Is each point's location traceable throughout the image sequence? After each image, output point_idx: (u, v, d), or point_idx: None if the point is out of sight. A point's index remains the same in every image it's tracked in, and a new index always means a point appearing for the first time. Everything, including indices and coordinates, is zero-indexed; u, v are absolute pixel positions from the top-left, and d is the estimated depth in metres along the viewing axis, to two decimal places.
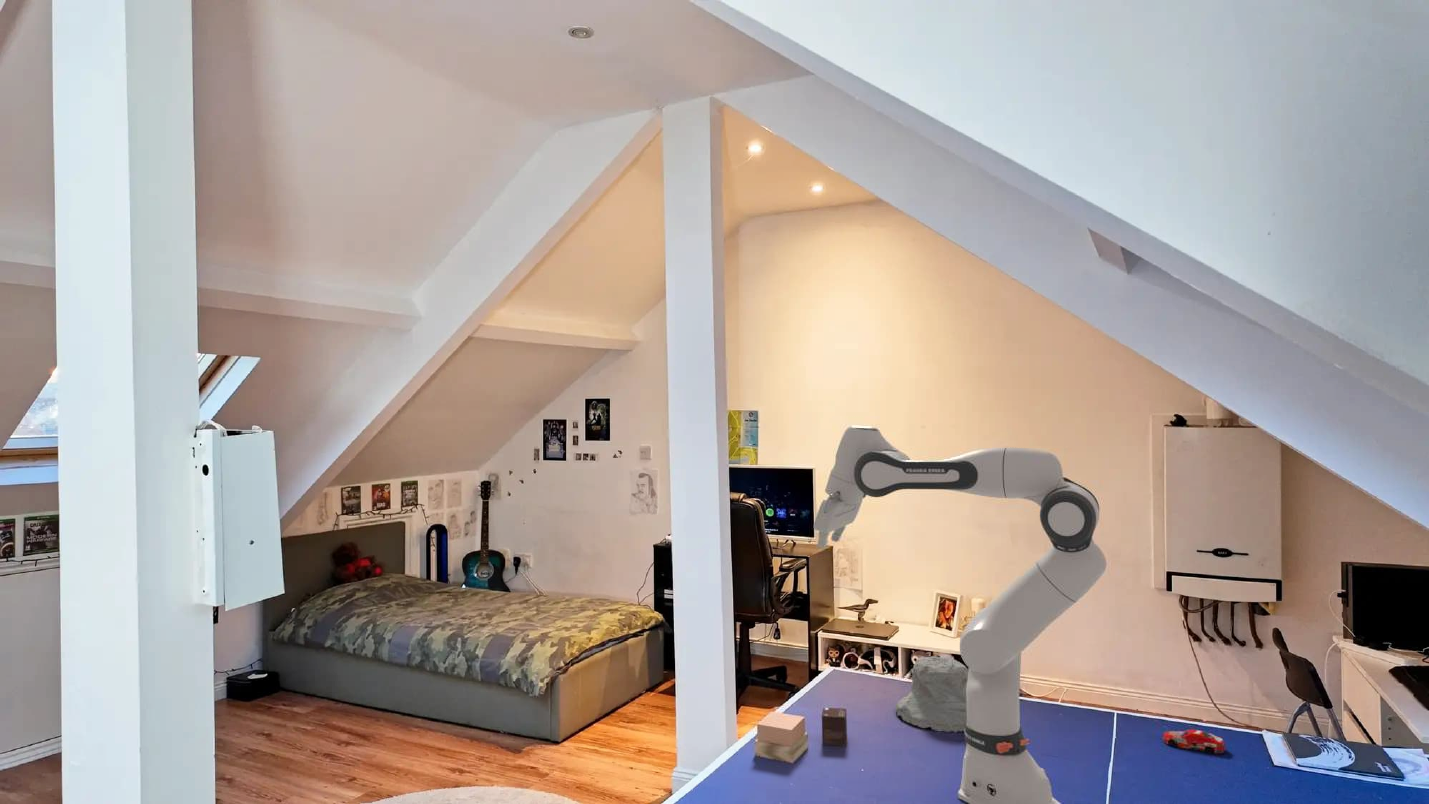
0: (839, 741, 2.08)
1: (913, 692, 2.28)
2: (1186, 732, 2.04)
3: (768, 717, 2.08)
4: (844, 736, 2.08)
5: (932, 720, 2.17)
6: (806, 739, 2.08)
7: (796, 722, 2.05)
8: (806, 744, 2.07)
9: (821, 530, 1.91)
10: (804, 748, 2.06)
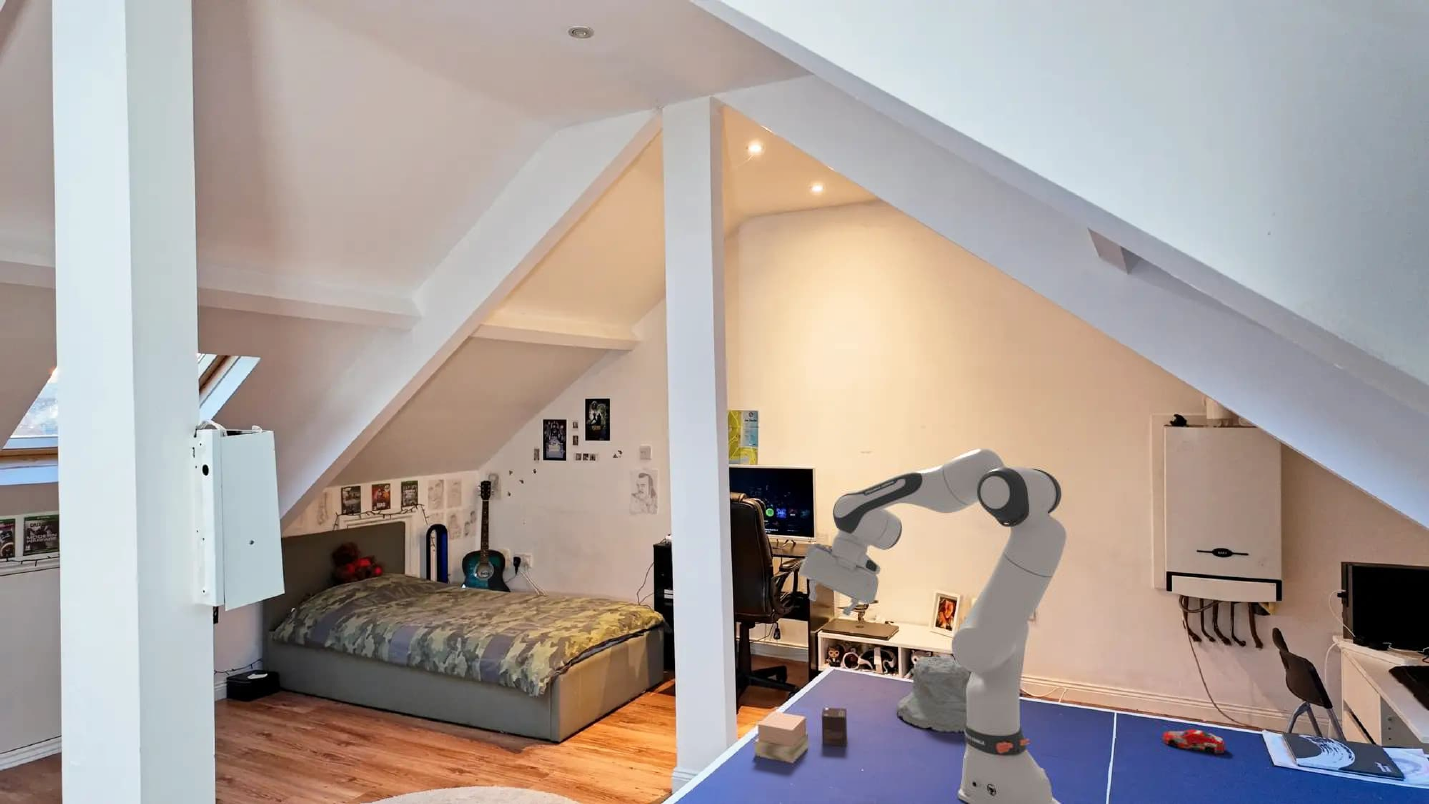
0: (839, 741, 2.08)
1: (914, 692, 2.28)
2: (1186, 732, 2.04)
3: (769, 717, 2.08)
4: (844, 736, 2.08)
5: (933, 720, 2.17)
6: (807, 739, 2.07)
7: (797, 722, 2.05)
8: (806, 744, 2.07)
9: (801, 572, 2.10)
10: (804, 748, 2.06)
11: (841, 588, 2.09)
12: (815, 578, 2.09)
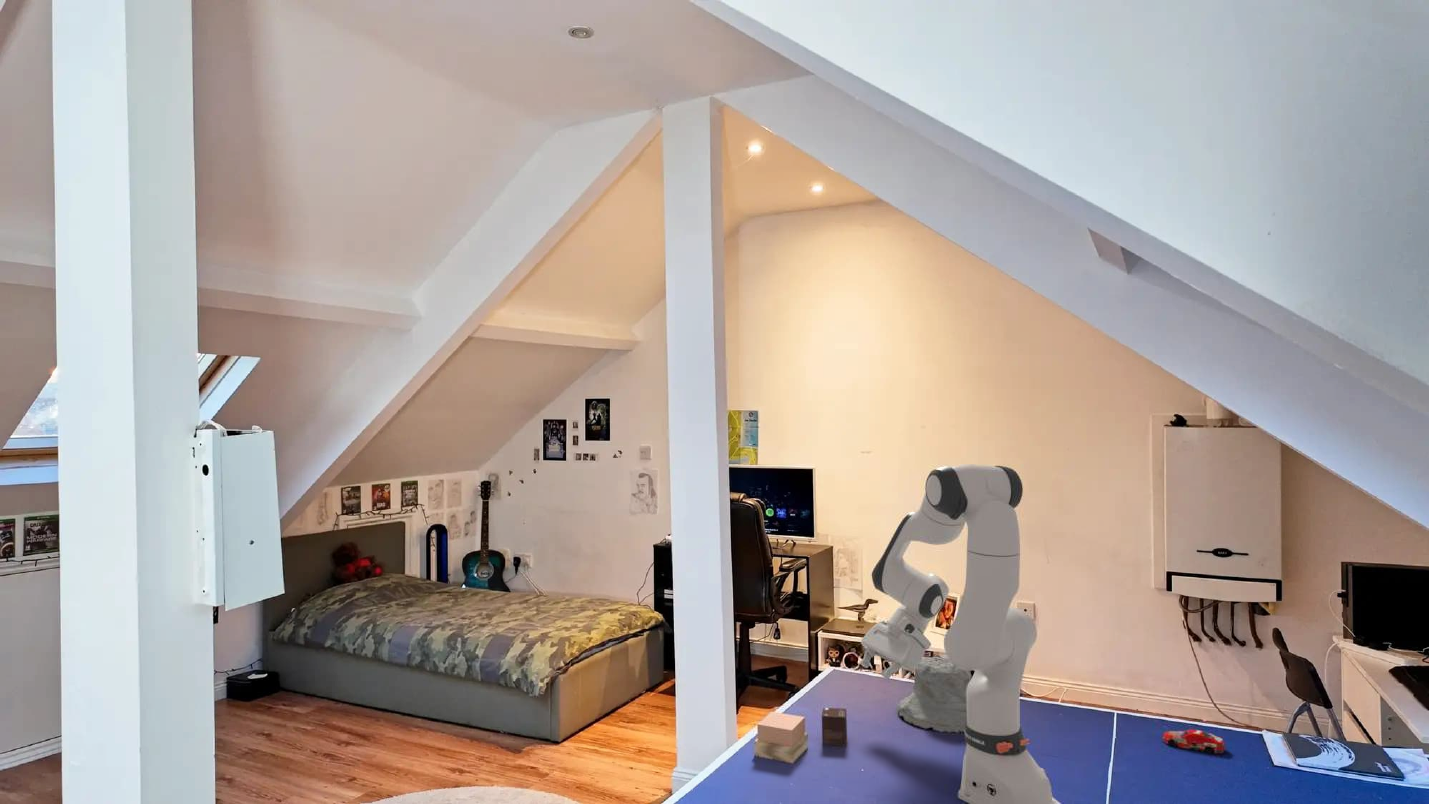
0: (839, 741, 2.08)
1: (915, 692, 2.27)
2: (1186, 732, 2.04)
3: (768, 717, 2.08)
4: (844, 736, 2.08)
5: (934, 720, 2.17)
6: (806, 739, 2.07)
7: (796, 722, 2.05)
8: (806, 744, 2.07)
9: None
10: (804, 748, 2.06)
11: (883, 651, 2.16)
12: (867, 645, 2.23)
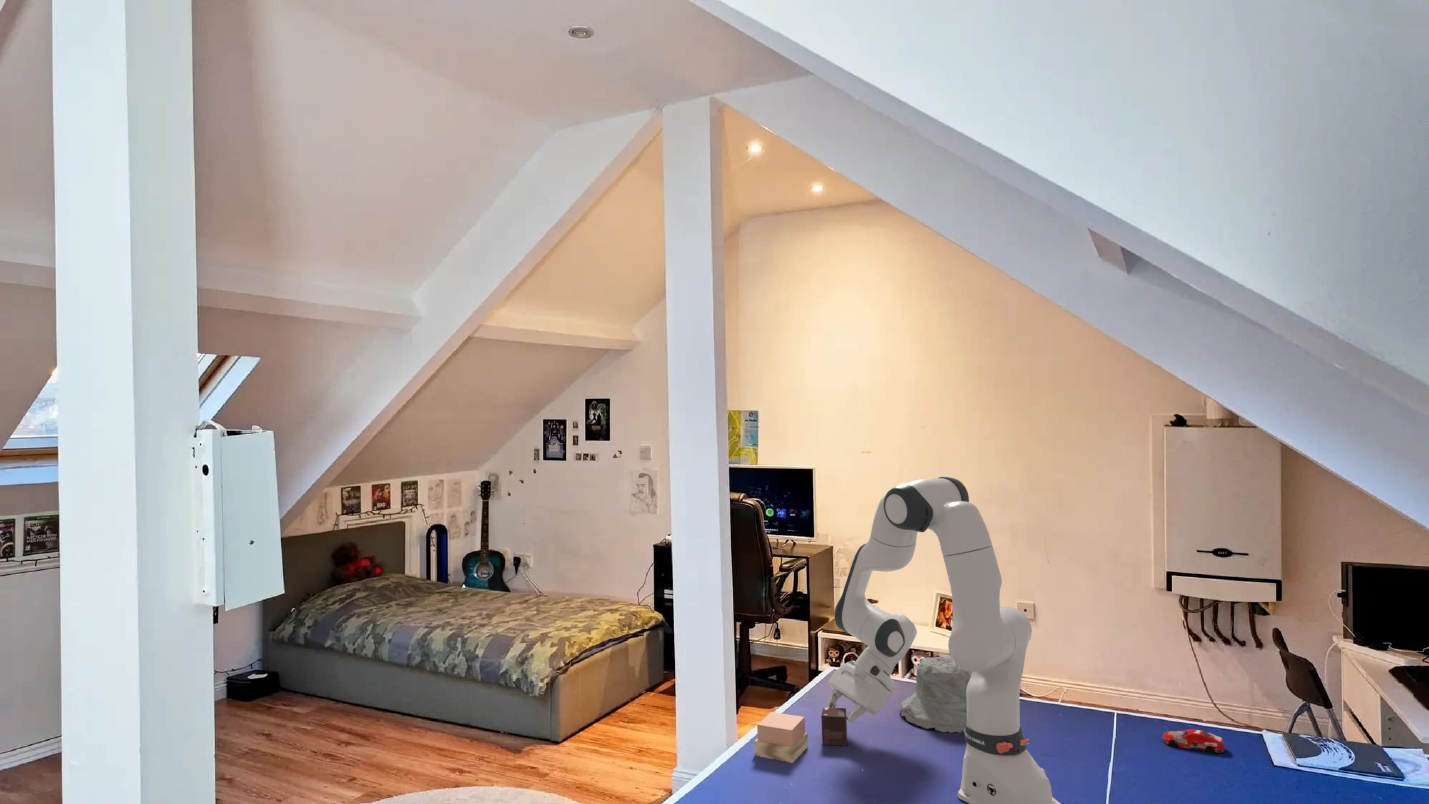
0: (839, 741, 2.08)
1: (917, 692, 2.27)
2: (1186, 732, 2.04)
3: (768, 717, 2.08)
4: (844, 736, 2.08)
5: (936, 721, 2.17)
6: (806, 739, 2.08)
7: (796, 722, 2.05)
8: (806, 744, 2.07)
9: None
10: (804, 748, 2.06)
11: (848, 693, 2.12)
12: (834, 686, 2.19)
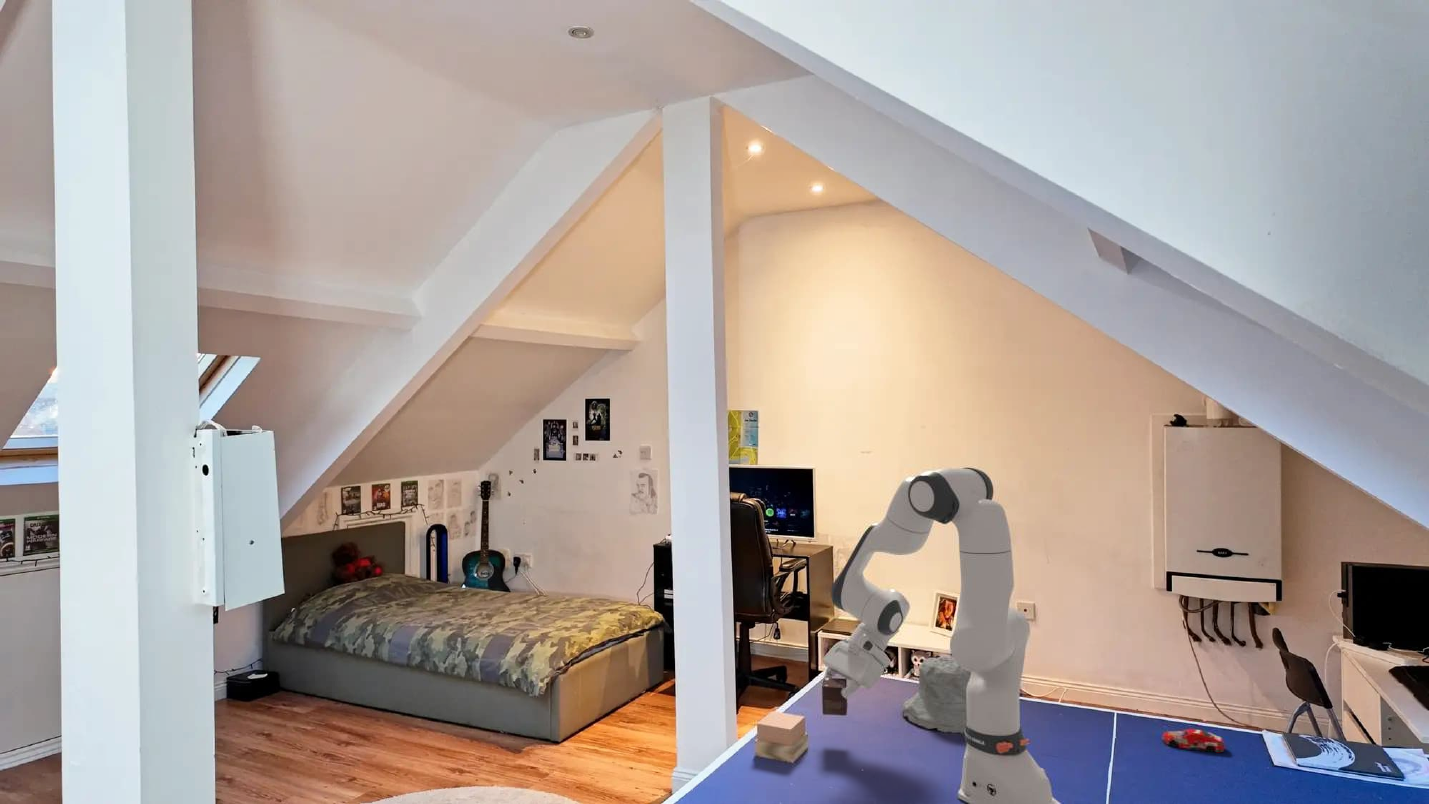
0: (839, 711, 2.08)
1: (920, 693, 2.27)
2: (1186, 732, 2.04)
3: (769, 716, 2.09)
4: (844, 706, 2.08)
5: (938, 721, 2.17)
6: (807, 739, 2.08)
7: (796, 721, 2.05)
8: (806, 744, 2.07)
9: None
10: (804, 748, 2.06)
11: (842, 670, 2.11)
12: (828, 664, 2.18)
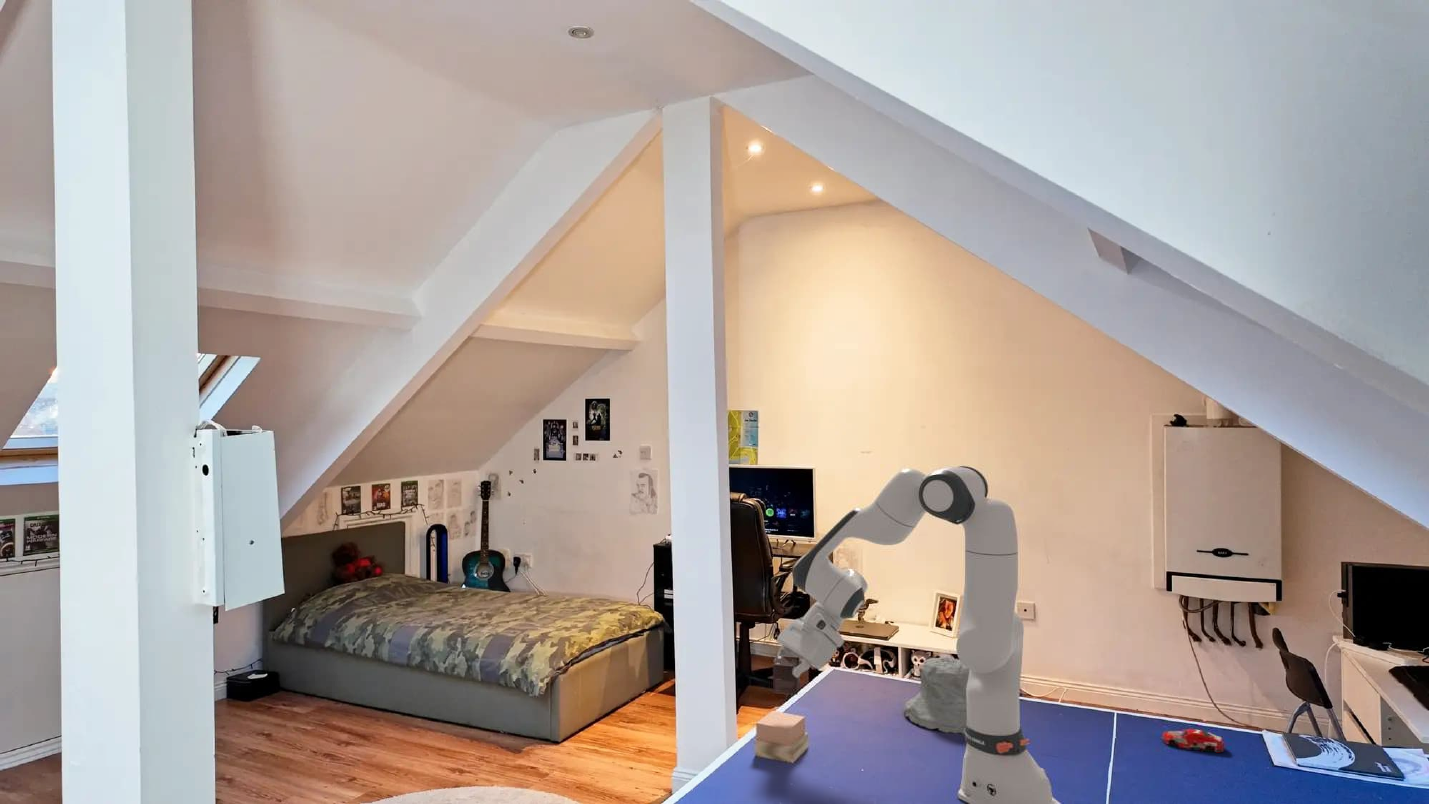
0: (790, 690, 2.04)
1: (921, 693, 2.27)
2: (1186, 732, 2.04)
3: (768, 716, 2.09)
4: (795, 685, 2.04)
5: (940, 721, 2.17)
6: (807, 739, 2.08)
7: (795, 721, 2.05)
8: (806, 744, 2.07)
9: None
10: (804, 748, 2.06)
11: (795, 649, 2.07)
12: (782, 642, 2.14)
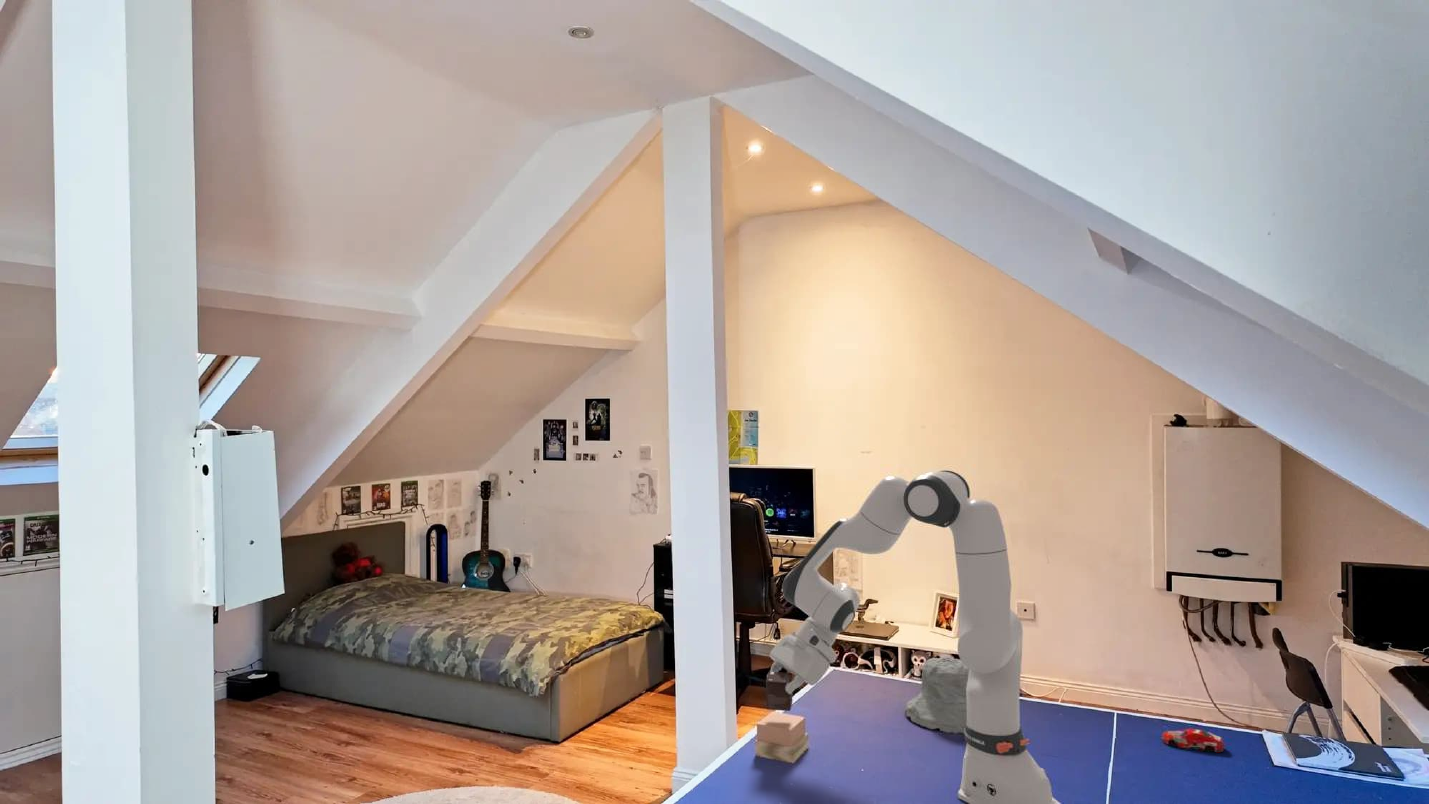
0: (783, 706, 2.03)
1: (922, 693, 2.27)
2: (1185, 731, 2.04)
3: (769, 716, 2.09)
4: (788, 701, 2.03)
5: (941, 721, 2.16)
6: (807, 739, 2.07)
7: (796, 722, 2.05)
8: (806, 744, 2.07)
9: None
10: (804, 748, 2.06)
11: (788, 665, 2.06)
12: (774, 658, 2.12)
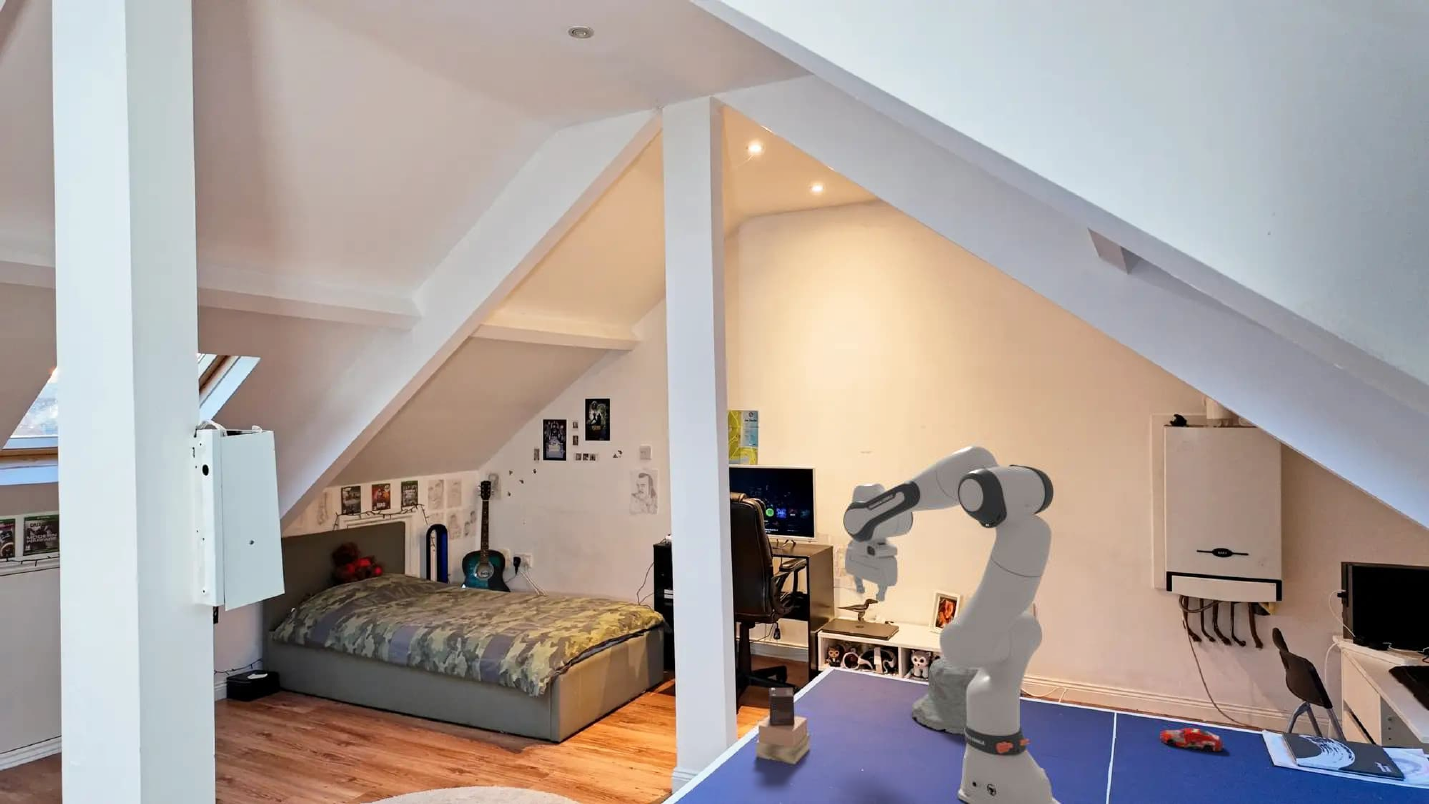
0: (787, 721, 2.02)
1: (929, 694, 2.26)
2: (1184, 731, 2.05)
3: None
4: (792, 715, 2.02)
5: (947, 722, 2.16)
6: (808, 740, 2.07)
7: (798, 723, 2.04)
8: (808, 745, 2.07)
9: None
10: (806, 749, 2.05)
11: (865, 578, 2.19)
12: (851, 574, 2.26)
